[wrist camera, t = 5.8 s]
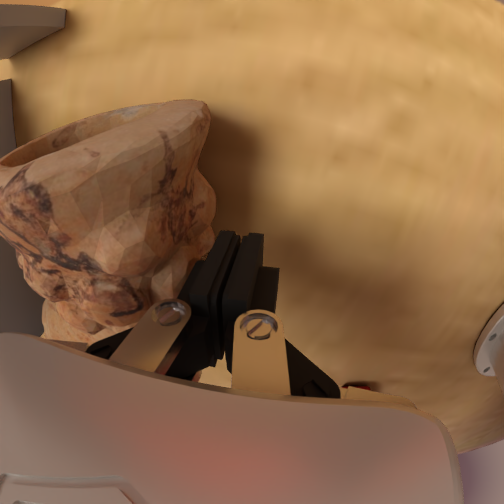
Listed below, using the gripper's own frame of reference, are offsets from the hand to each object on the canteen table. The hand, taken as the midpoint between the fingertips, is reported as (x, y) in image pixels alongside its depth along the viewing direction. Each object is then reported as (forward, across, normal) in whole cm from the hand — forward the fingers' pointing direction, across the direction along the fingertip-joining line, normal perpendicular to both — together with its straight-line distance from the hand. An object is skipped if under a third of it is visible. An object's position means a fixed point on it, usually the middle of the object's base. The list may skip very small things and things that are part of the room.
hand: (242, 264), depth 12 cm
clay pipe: (+6, +8, +1) cm, 10 cm away
